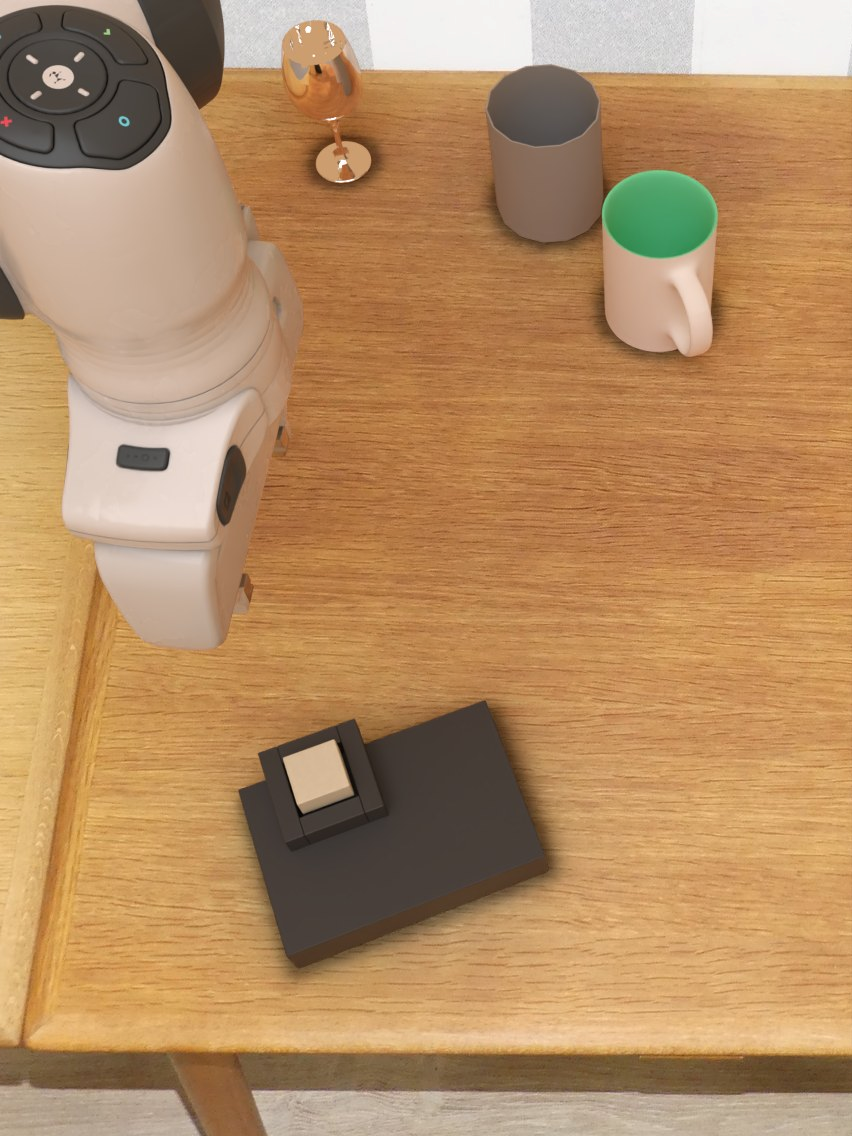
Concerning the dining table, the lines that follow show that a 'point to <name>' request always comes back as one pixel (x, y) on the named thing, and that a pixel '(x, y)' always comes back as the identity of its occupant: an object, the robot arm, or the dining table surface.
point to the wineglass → (325, 91)
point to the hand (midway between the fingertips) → (255, 521)
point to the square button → (318, 776)
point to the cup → (546, 152)
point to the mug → (660, 262)
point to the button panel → (391, 832)
